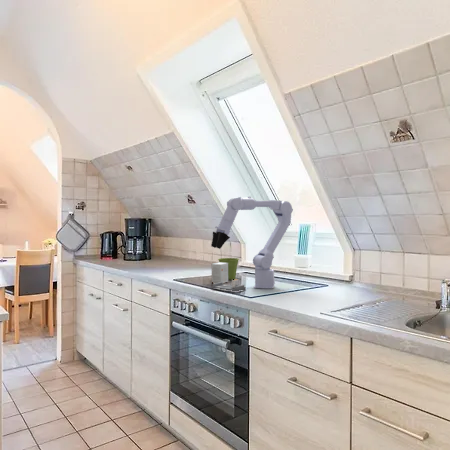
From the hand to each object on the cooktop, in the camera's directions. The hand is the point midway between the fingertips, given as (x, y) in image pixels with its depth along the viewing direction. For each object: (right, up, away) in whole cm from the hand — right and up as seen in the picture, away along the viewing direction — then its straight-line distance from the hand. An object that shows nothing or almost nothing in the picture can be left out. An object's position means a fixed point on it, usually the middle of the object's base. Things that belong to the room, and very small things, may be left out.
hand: (215, 247), depth 195 cm
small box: (+2, -20, +21) cm, 29 cm away
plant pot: (+7, -20, +34) cm, 40 cm away
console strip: (+6, -20, +2) cm, 21 cm away
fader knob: (+9, -19, -1) cm, 21 cm away
